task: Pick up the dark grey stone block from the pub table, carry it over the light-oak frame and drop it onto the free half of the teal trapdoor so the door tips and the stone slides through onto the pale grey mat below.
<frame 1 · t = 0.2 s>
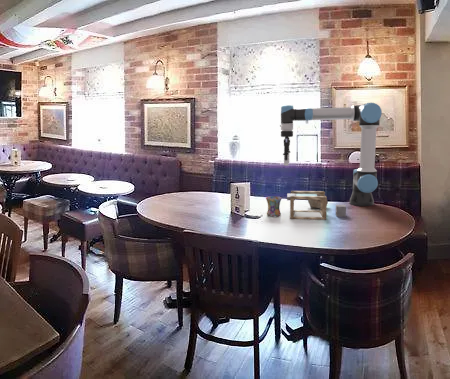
hand: (286, 164, 256), 28 cm above the table, fingers open, 13 cm apart
stone: (340, 215, 235), on the table
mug: (273, 215, 240), on the table
rock: (316, 207, 257), on the table
trapdoor: (302, 196, 235), point 11 cm above the table, hinge at 0.0°
mat: (307, 215, 236), resting in frame
frame: (307, 215, 236), on the table
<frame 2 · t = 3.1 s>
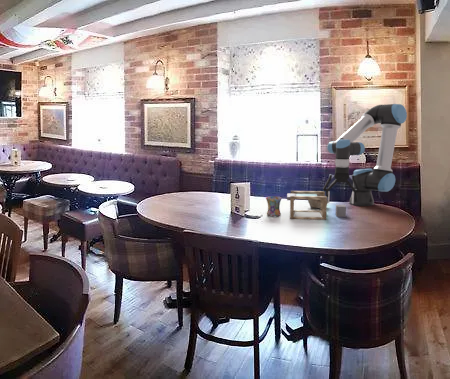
hand: (340, 202, 234), 8 cm above the table, fingers open, 13 cm apart
nothing on the table moved.
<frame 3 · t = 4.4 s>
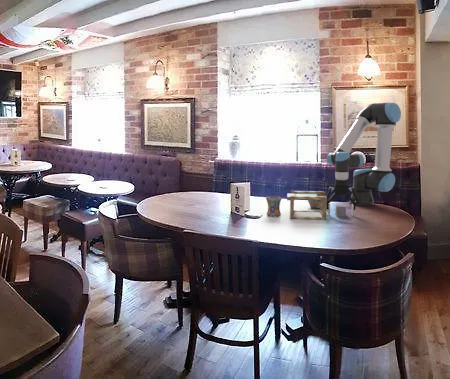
hand: (340, 215, 235), 0 cm above the table, fingers open, 12 cm apart
nothing on the table moved.
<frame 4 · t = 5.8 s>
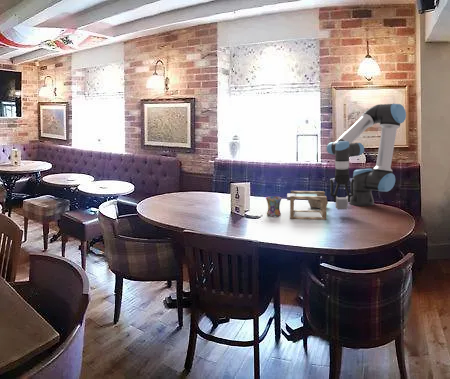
hand: (341, 207, 235), 5 cm above the table, fingers closed on stone, 5 cm apart
stone: (341, 208, 235), point 4 cm above the table, touching gripper
everything else where it was.
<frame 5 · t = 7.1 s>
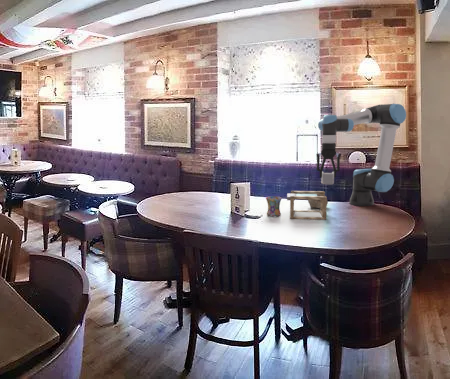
hand: (327, 183, 232), 19 cm above the table, fingers closed on stone, 5 cm apart
stone: (327, 183, 232), point 19 cm above the table, touching gripper
everything else where it was.
when the fingers open (14 cm above the table, at t = 8.7 s): stone drops 10 cm and tips over, resting on frame, mat.
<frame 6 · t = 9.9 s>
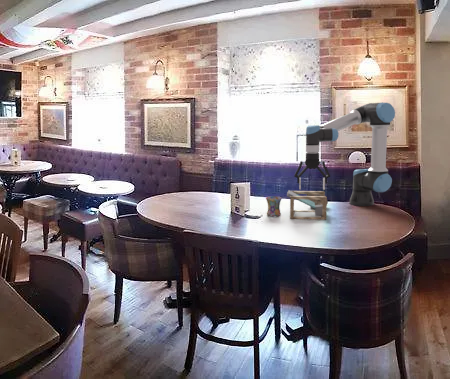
hand: (311, 189, 233), 16 cm above the table, fingers open, 13 cm apart
stone: (314, 210, 235), point 3 cm above the table, tilted 84°, touching frame, mat
trapdoor: (301, 199, 235), point 10 cm above the table, hinge at -26.1°
everything else where it was.
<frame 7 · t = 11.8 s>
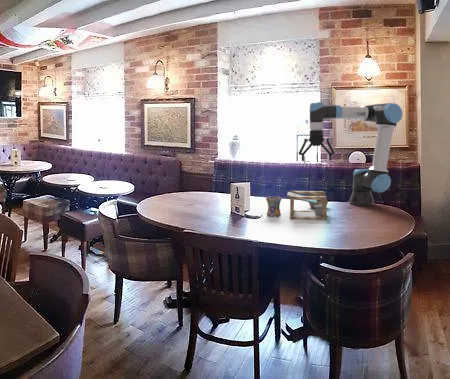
hand: (316, 166, 235), 29 cm above the table, fingers open, 13 cm apart
trapdoor: (301, 198, 235), point 10 cm above the table, hinge at -12.7°
everything else where it was.
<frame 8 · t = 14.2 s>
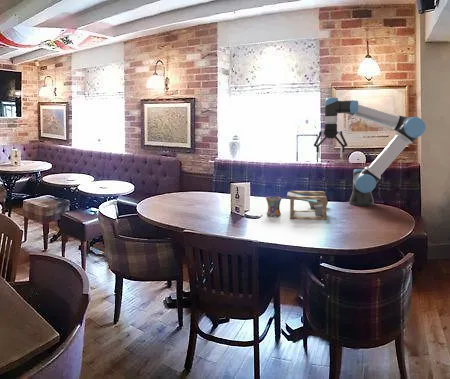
hand: (330, 157, 252), 32 cm above the table, fingers open, 13 cm apart
trapdoor: (301, 198, 235), point 10 cm above the table, hinge at -11.7°
everything else where it was.
at the end: stone point 3.2 cm above the table; stone inside the target area (4.6 cm from its centre), point 3.2 cm above the table; the gripper is holding nothing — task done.
